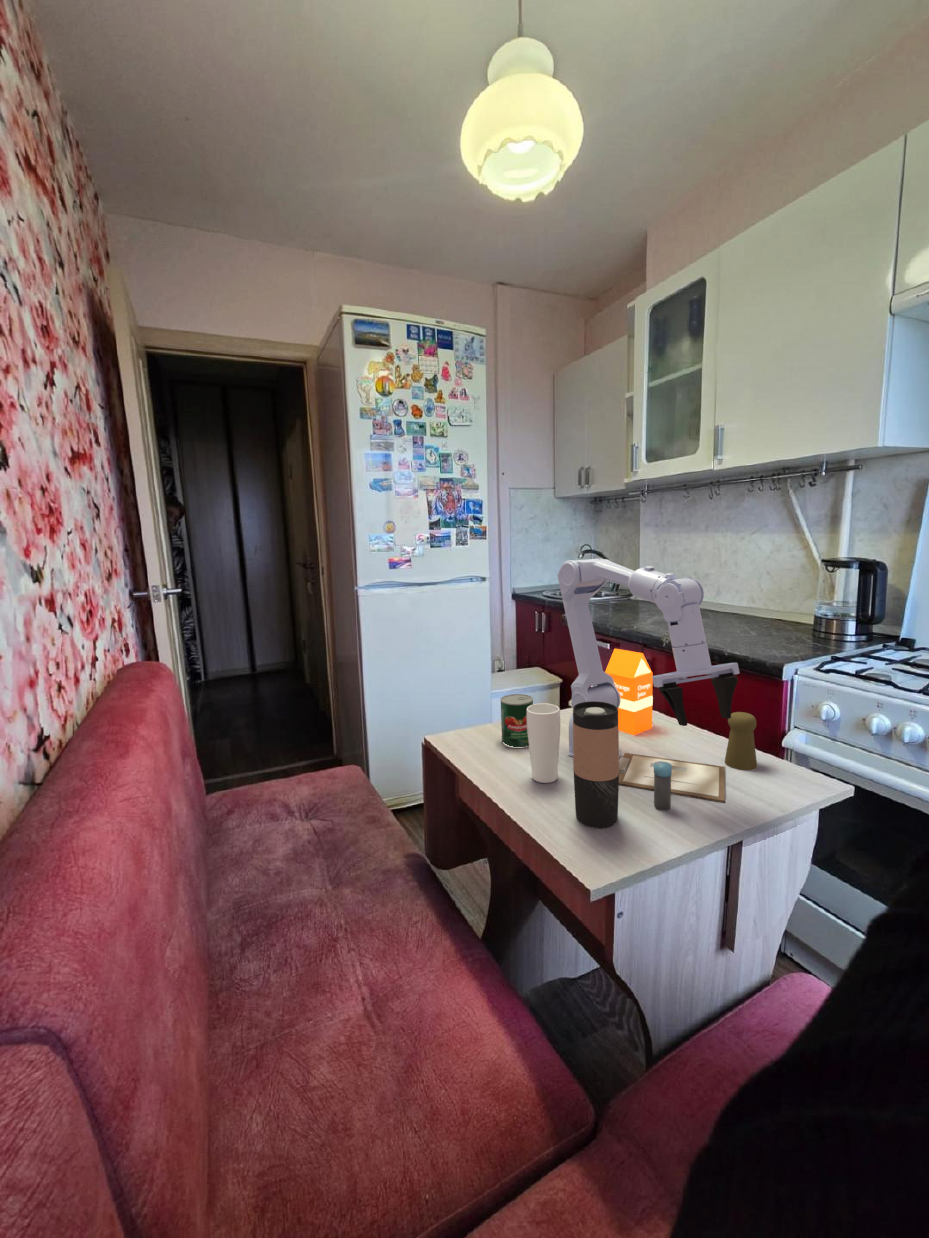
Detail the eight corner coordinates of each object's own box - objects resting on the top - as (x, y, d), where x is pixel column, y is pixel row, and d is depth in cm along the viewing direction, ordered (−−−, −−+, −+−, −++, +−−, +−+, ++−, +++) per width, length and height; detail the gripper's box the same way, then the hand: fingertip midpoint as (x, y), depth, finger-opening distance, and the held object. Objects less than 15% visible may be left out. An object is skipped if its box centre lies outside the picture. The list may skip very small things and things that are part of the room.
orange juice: (623, 719, 136) (623, 646, 133) (652, 727, 129) (653, 650, 126) (604, 726, 132) (604, 650, 129) (633, 735, 125) (634, 656, 122)
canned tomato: (513, 751, 119) (511, 706, 117) (495, 740, 126) (494, 697, 124) (540, 743, 123) (539, 699, 121) (522, 733, 129) (521, 692, 128)
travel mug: (617, 807, 92) (617, 701, 89) (620, 831, 85) (620, 716, 82) (574, 804, 94) (572, 700, 91) (573, 827, 86) (571, 714, 83)
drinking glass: (549, 789, 100) (547, 716, 98) (521, 779, 105) (519, 709, 102) (567, 776, 105) (566, 706, 103) (540, 768, 109) (538, 701, 107)
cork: (761, 770, 103) (763, 719, 102) (729, 769, 104) (731, 718, 103) (751, 758, 109) (753, 709, 107) (720, 757, 110) (722, 708, 109)
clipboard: (611, 783, 101) (611, 777, 101) (624, 754, 114) (624, 749, 114) (724, 802, 92) (724, 796, 92) (724, 768, 105) (724, 762, 105)
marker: (652, 809, 91) (652, 766, 90) (654, 801, 94) (654, 760, 92) (670, 812, 90) (670, 769, 88) (672, 804, 92) (672, 762, 91)
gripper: (656, 651, 86) (672, 731, 85) (741, 637, 86) (758, 717, 85) (643, 652, 93) (657, 725, 92) (721, 638, 93) (736, 712, 92)
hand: (704, 721), depth 89 cm, fingers open, 7 cm apart
